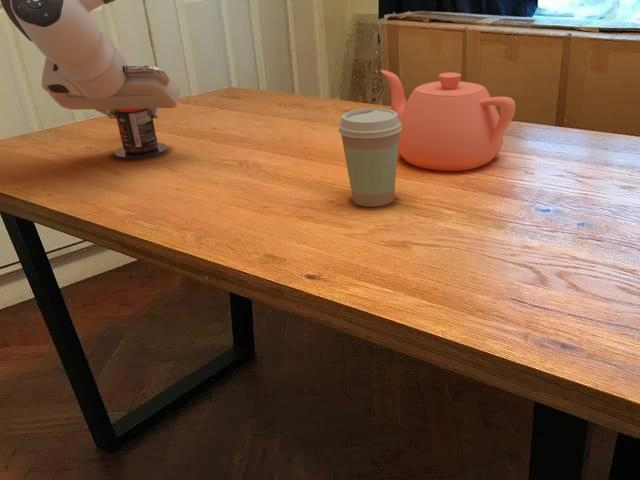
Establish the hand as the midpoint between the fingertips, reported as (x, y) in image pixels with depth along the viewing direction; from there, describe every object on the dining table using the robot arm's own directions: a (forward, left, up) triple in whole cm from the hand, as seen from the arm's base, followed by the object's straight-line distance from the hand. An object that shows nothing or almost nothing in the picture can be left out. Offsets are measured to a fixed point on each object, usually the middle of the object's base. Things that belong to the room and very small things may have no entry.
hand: (135, 115), depth 116 cm
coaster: (0, -1, -6) cm, 6 cm away
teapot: (+51, +18, -7) cm, 55 cm away
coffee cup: (+50, -4, -7) cm, 51 cm away
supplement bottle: (0, -1, -6) cm, 6 cm away
